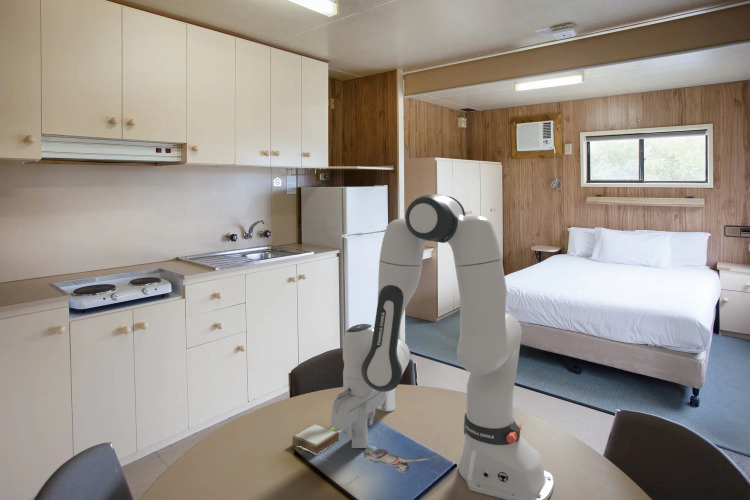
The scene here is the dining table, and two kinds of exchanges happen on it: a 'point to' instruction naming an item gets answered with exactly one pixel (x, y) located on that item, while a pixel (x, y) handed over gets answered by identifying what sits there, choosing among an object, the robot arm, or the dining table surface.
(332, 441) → the plinth
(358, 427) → the skincare box
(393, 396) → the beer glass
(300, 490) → the dining table surface
